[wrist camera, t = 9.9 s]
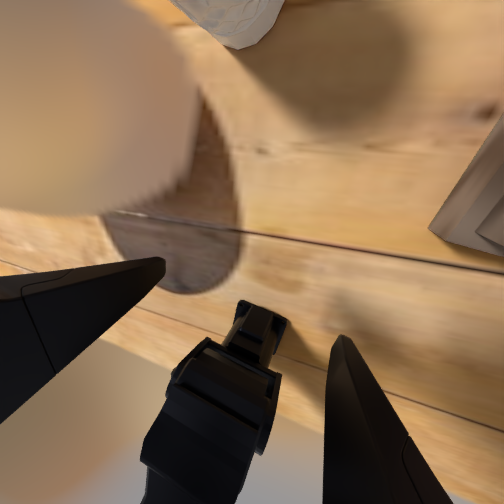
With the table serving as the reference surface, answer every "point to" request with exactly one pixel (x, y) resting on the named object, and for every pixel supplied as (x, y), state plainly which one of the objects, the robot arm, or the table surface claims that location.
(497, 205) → the grey stacked slabs
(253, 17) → the white cup
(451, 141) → the table surface
